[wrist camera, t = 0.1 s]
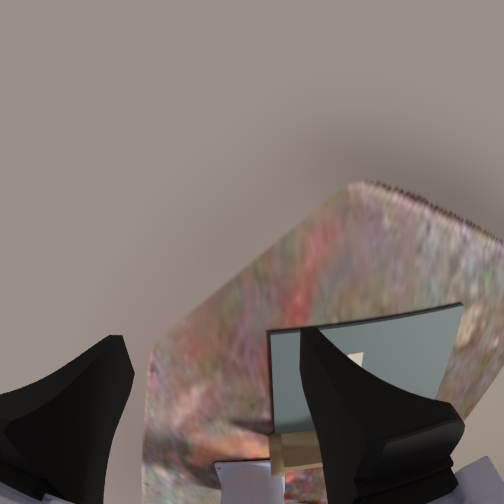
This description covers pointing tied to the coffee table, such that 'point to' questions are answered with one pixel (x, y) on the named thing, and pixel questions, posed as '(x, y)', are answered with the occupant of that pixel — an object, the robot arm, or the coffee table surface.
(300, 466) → the fence frame
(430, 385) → the card
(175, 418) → the coffee table surface
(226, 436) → the coffee table surface
